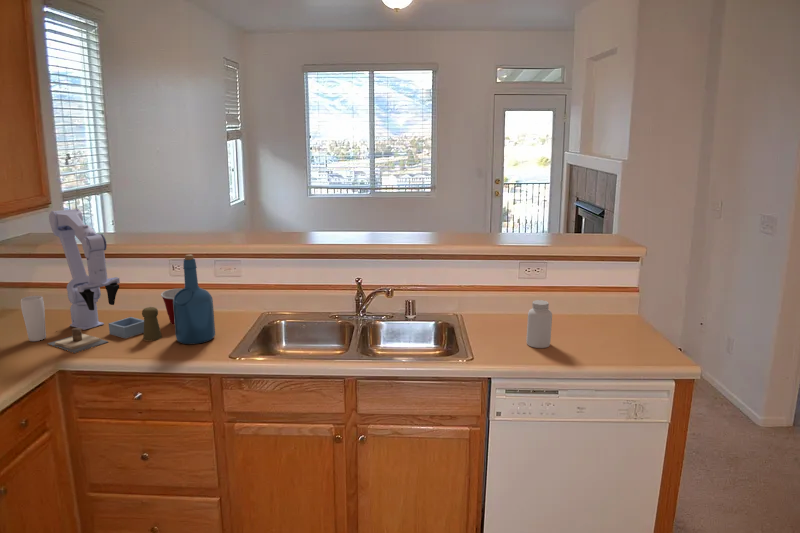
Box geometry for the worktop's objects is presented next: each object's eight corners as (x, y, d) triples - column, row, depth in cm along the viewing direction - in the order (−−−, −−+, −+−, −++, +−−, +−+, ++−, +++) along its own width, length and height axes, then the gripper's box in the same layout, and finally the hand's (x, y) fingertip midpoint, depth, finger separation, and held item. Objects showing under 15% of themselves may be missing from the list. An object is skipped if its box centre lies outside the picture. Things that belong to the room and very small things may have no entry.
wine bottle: (192, 331, 220) (185, 250, 214) (223, 335, 216) (217, 252, 209) (166, 343, 208) (158, 257, 201) (198, 347, 204) (191, 260, 197)
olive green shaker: (155, 341, 210) (152, 310, 207) (139, 340, 211) (136, 309, 209) (165, 335, 216) (162, 305, 213) (149, 334, 217) (146, 304, 214)
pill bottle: (536, 350, 201) (539, 306, 197) (521, 342, 208) (523, 300, 204) (555, 346, 204) (557, 303, 201) (539, 339, 211) (541, 297, 208)
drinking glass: (53, 337, 214) (47, 296, 210) (34, 343, 208) (28, 301, 204) (40, 335, 216) (34, 294, 213) (21, 341, 210) (15, 299, 207)
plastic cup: (166, 329, 223) (163, 297, 220) (161, 321, 232) (158, 290, 229) (196, 324, 228) (194, 293, 225) (190, 316, 237) (188, 287, 234)
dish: (109, 334, 217) (108, 323, 216) (132, 327, 225) (131, 316, 224) (125, 338, 213) (124, 327, 212) (147, 331, 220) (146, 320, 219)
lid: (55, 344, 206) (53, 330, 205) (82, 335, 214) (80, 322, 213) (73, 349, 201) (71, 335, 200) (100, 340, 210) (98, 327, 209)
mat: (47, 344, 207) (47, 343, 207) (81, 334, 217) (81, 333, 217) (74, 353, 199) (74, 352, 199) (108, 342, 209) (108, 341, 209)
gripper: (84, 275, 203) (88, 314, 206) (123, 266, 215) (127, 303, 218) (71, 272, 206) (76, 311, 209) (111, 264, 218) (115, 300, 221)
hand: (101, 307), depth 214 cm, fingers open, 7 cm apart
